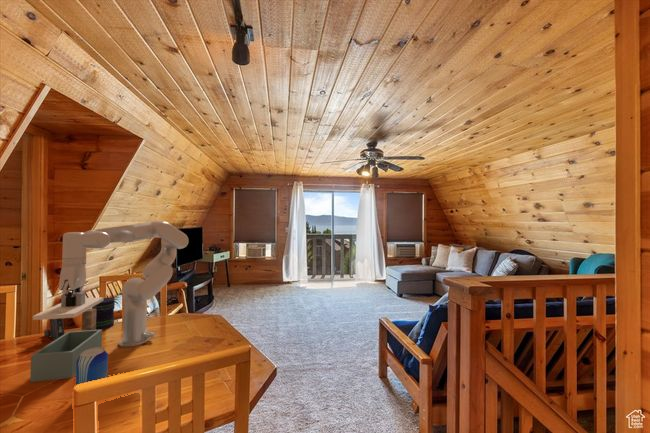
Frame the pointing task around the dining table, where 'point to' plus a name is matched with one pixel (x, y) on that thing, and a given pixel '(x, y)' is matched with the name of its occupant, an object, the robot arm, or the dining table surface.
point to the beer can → (92, 365)
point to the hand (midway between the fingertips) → (73, 304)
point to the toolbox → (63, 355)
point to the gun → (55, 328)
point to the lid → (72, 311)
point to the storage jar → (105, 313)
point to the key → (89, 320)
